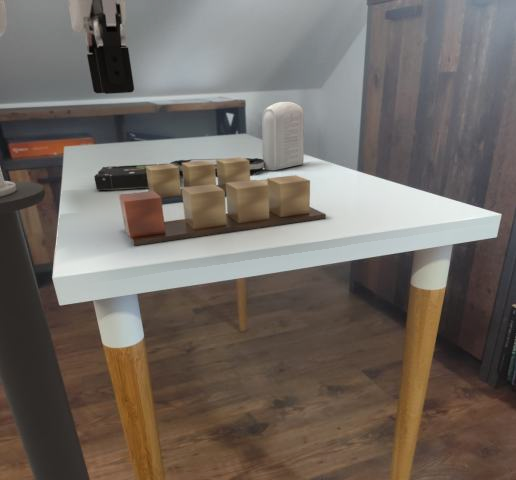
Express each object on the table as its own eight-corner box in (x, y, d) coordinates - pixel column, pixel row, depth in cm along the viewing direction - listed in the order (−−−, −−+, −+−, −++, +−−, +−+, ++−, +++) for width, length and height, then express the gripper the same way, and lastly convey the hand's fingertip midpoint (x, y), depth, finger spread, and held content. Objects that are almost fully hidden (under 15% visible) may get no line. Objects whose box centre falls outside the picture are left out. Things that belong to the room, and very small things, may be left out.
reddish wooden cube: (130, 238, 60) (124, 201, 58) (124, 229, 63) (118, 194, 61) (165, 233, 61) (161, 197, 59) (158, 224, 65) (154, 190, 63)
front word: (134, 245, 59) (127, 203, 57) (125, 231, 65) (119, 192, 62) (325, 218, 67) (327, 180, 65) (303, 207, 73) (303, 172, 70)
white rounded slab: (290, 162, 108) (290, 100, 102) (306, 164, 106) (307, 100, 100) (259, 170, 102) (257, 103, 96) (275, 172, 99) (274, 103, 93)
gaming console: (165, 177, 98) (164, 164, 97) (176, 169, 106) (174, 157, 104) (262, 175, 96) (262, 162, 95) (265, 167, 104) (265, 154, 103)
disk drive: (96, 192, 88) (180, 186, 89) (93, 176, 86) (178, 170, 88) (104, 181, 97) (180, 176, 98) (101, 166, 95) (178, 161, 97)
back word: (151, 205, 77) (147, 172, 75) (143, 196, 83) (139, 165, 80) (290, 188, 85) (290, 158, 82) (274, 181, 90) (273, 152, 88)
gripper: (37, -85, 53) (73, 94, 61) (36, -150, 38) (83, 95, 47) (108, -81, 55) (134, 90, 63) (132, -142, 41) (162, 91, 49)
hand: (113, 92), depth 55 cm, fingers open, 9 cm apart
